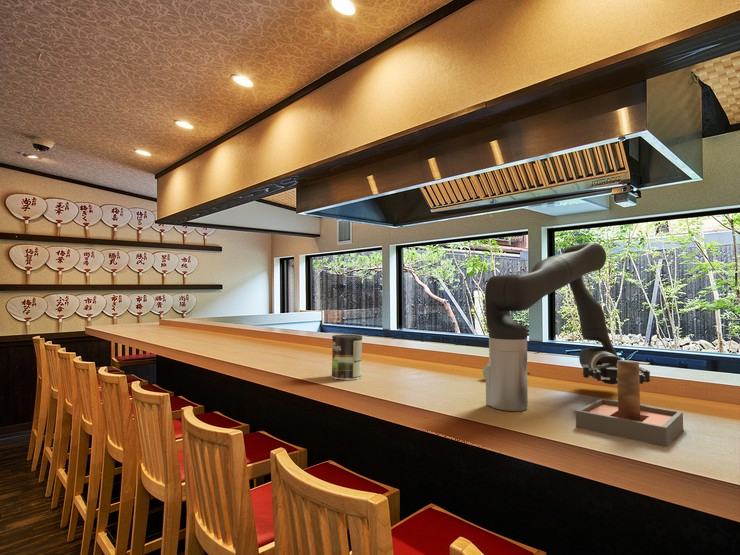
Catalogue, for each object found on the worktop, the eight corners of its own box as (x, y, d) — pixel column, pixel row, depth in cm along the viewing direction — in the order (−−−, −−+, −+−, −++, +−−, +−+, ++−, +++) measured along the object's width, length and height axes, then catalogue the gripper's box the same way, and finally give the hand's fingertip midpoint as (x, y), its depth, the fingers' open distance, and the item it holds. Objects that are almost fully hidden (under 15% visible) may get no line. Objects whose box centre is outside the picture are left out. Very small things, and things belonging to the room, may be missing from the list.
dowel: (615, 427, 89) (614, 361, 90) (621, 424, 92) (620, 359, 92) (637, 432, 86) (636, 363, 87) (642, 428, 89) (641, 361, 90)
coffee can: (338, 381, 135) (339, 337, 136) (327, 376, 144) (327, 335, 145) (367, 379, 140) (367, 336, 140) (354, 374, 149) (354, 334, 149)
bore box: (575, 427, 89) (575, 410, 89) (600, 413, 100) (600, 398, 100) (666, 446, 77) (666, 427, 78) (683, 428, 89) (682, 412, 89)
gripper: (578, 351, 116) (585, 359, 100) (638, 354, 111) (655, 363, 95) (578, 379, 115) (586, 391, 100) (638, 383, 110) (656, 397, 95)
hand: (619, 377), depth 98 cm, fingers open, 8 cm apart
